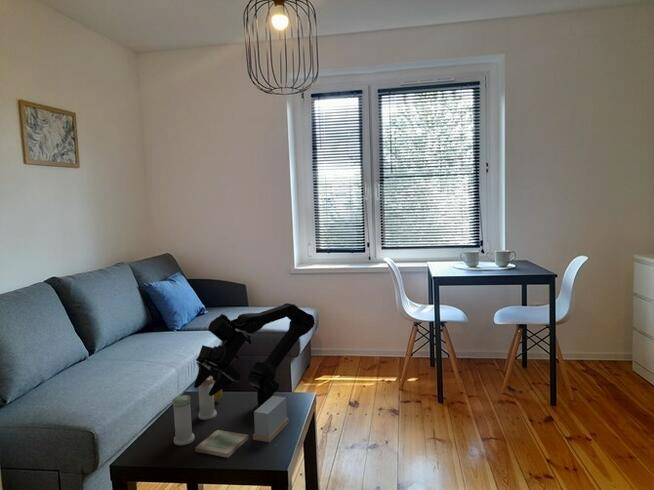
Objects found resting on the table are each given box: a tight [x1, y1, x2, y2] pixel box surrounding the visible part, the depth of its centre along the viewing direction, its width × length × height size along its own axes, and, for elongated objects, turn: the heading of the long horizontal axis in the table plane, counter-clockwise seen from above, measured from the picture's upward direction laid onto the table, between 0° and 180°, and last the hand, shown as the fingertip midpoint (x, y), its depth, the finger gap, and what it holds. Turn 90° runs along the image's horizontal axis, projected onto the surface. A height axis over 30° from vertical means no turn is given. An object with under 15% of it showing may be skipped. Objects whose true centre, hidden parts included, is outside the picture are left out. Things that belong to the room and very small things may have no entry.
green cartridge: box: [172, 394, 195, 446], centre depth 138 cm, size 6×6×13 cm
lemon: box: [213, 380, 223, 403], centre depth 165 cm, size 6×6×8 cm
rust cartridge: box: [197, 375, 218, 421], centre depth 154 cm, size 6×6×13 cm
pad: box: [194, 429, 249, 459], centre depth 135 cm, size 11×11×1 cm
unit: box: [252, 395, 290, 443], centre depth 142 cm, size 13×6×8 cm, turn 159°
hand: (202, 391), depth 143 cm, fingers open, 9 cm apart
